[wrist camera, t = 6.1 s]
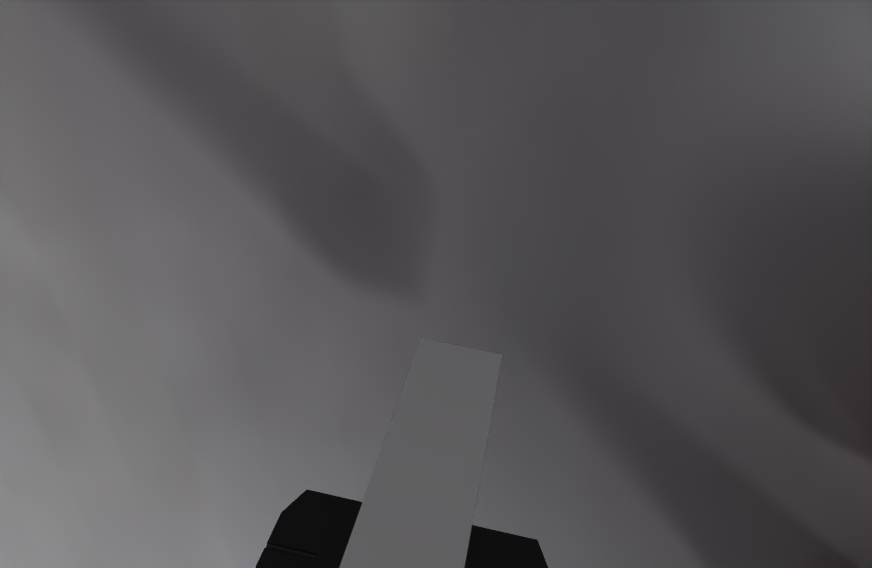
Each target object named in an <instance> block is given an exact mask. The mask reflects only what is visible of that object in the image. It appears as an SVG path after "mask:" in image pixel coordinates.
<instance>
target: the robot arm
mask: <svg viewBox="0 0 872 568" xmlns="http://www.w3.org/2000/svg"><path fill="white" fill-rule="evenodd" d="M501 360H502V354H497V353H493V352H488V351H483V350H478V349H473V348H468V347H463V346H458V345H453V344H449V343H444V342H439V341H434V340H429V339H424V338H421V339H420V342H419V345H418V348H417V351H416V353H415V356H414V359H413V362H412V365H411V367H410V370H409V373H408V376H407V379H406V381H405V384H404V387H403V390H402V393H401V395H400V398H399V401H398V404H397V407H396V410H395V412H394V415H393V418H392V421H391V424H390V426H389V429H388V432H387V435H386V438H385V440H384V443H383V446H382V449H381V452H380V455H379V457H378V460H377V463H376V466H375V469H374V471H373V474H372V477H371V480H370V483H369V485H368V488H367V491H366V494H365V497H364V500H363V502H359V501H355V500H350V499H346V498H342V497H337V496H333V495H329V494H324V493H320V492H315V491H311V490H306V491H305V492H304V493H302V494H301V495H300V496H299V497H298V498H297V499H296V500H295V501H294V502H292V503H291V504H290V505H289V506H288V507H287V508H286V509H285V510H284V511H282V512H281V515H280V517H279V519H278V521H277V523H276V525H275V527H274V529H273V531H272V534H271V536H270V538H269V540H268V542H267V546H266V548H264V550H263V553H262V555H261V557H260V559H259V561H258V563H257V565H256V568H548V566H547V564H546V561H545V558H544V556H543V553H542V551H541V548H540V545H539V543H538V540H535V539H531V538H526V537H522V536H518V535H513V534H509V533H504V532H500V531H496V530H491V529H487V528H482V527H478V526H474V525H472V522H473V517H474V511H475V505H476V500H477V494H478V489H479V483H480V478H481V472H482V466H483V461H484V455H485V450H486V444H487V439H488V433H489V427H490V422H491V416H492V411H493V405H494V400H495V394H496V388H497V383H498V377H499V372H500V366H501Z"/></svg>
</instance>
